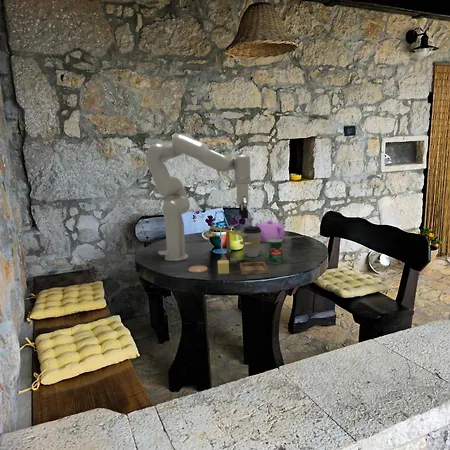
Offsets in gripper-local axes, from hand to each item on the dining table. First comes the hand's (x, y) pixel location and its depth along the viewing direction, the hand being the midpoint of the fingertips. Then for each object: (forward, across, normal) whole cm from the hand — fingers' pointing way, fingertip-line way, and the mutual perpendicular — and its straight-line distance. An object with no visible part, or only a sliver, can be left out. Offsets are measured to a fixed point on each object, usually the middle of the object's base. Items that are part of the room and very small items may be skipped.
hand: (243, 216), depth 195 cm
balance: (+23, -4, -8) cm, 25 cm away
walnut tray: (+23, +12, +3) cm, 26 cm away
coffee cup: (+24, -13, +6) cm, 28 cm away
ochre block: (+24, +12, -11) cm, 29 cm away
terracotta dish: (+23, +7, -23) cm, 33 cm away
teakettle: (+24, -44, +20) cm, 54 cm away
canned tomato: (+24, -1, +15) cm, 28 cm away
